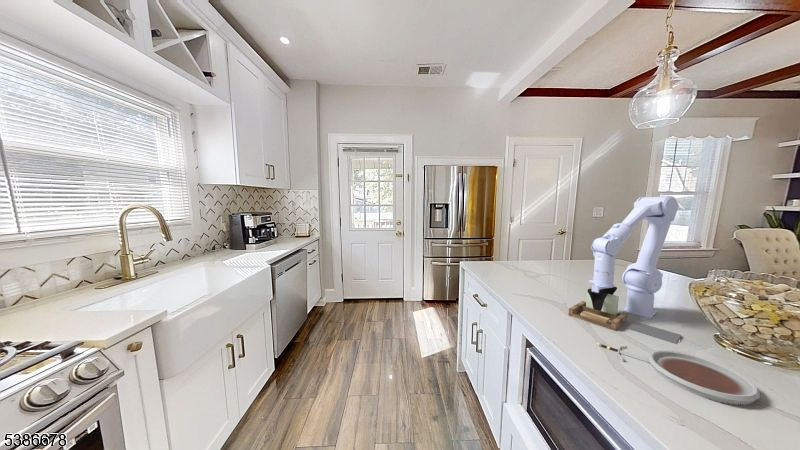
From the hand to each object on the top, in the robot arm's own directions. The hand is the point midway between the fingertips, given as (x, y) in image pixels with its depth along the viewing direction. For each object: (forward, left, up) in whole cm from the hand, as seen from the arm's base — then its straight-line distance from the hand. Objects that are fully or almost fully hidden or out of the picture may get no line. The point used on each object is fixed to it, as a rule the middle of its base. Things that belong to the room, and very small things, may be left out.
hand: (601, 307), depth 92 cm
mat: (0, +14, -3) cm, 14 cm away
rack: (+3, 0, -3) cm, 5 cm away
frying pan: (+21, +20, -4) cm, 30 cm away
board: (0, 0, -4) cm, 4 cm away
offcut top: (+6, 0, -3) cm, 7 cm away
